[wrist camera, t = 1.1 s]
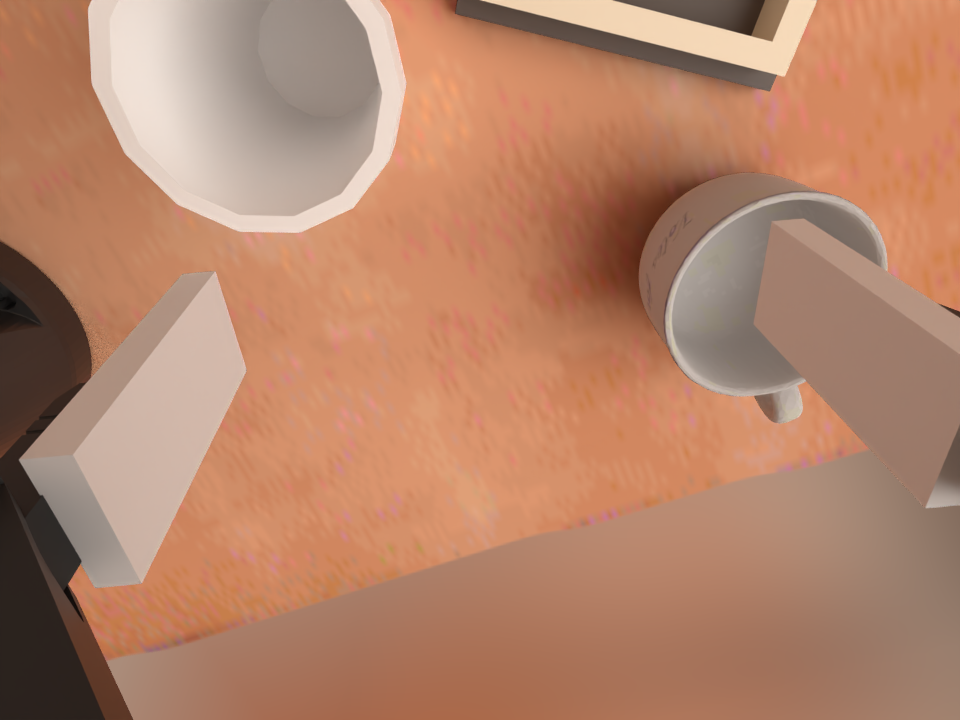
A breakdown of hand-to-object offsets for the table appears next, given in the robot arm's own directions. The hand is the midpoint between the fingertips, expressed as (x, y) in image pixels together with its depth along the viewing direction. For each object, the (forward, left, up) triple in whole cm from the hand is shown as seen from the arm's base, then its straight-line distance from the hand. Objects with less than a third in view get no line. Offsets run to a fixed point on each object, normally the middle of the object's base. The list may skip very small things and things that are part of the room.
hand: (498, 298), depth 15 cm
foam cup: (-8, +2, -21) cm, 22 cm away
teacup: (+16, -5, -21) cm, 27 cm away
